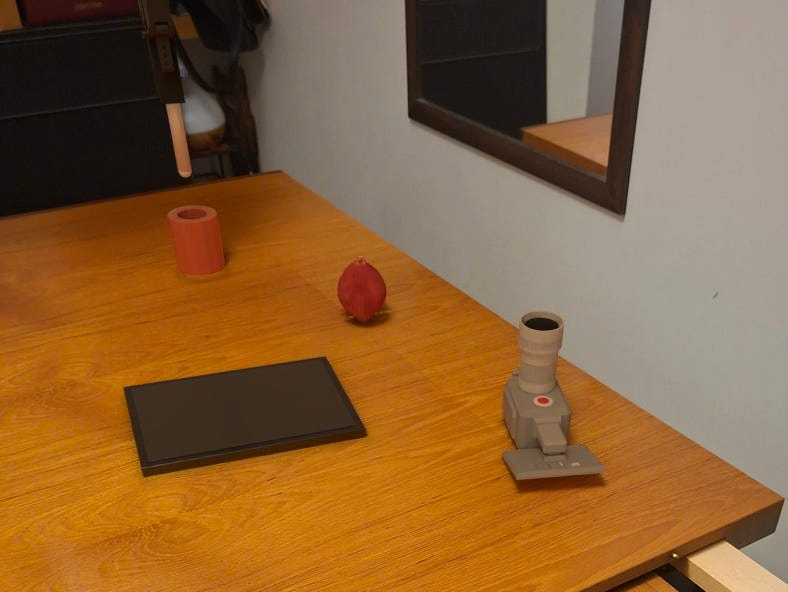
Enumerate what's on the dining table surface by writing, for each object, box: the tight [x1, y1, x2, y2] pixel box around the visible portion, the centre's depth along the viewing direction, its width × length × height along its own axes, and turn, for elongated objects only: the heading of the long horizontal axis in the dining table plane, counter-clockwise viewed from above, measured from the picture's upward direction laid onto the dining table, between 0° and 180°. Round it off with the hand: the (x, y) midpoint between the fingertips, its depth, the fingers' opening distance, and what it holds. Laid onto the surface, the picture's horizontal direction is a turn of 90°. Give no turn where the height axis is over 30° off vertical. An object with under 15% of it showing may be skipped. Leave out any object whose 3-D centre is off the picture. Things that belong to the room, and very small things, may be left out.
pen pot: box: [167, 204, 226, 276], centre depth 116 cm, size 6×6×7 cm
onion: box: [336, 255, 388, 323], centre depth 107 cm, size 6×6×8 cm
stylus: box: [165, 103, 192, 178], centre depth 105 cm, size 2×2×16 cm
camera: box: [501, 310, 607, 481], centre depth 87 cm, size 9×12×15 cm
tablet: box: [122, 355, 367, 478], centre depth 93 cm, size 16×22×1 cm
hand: (171, 99), depth 105 cm, fingers closed on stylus, 2 cm apart
